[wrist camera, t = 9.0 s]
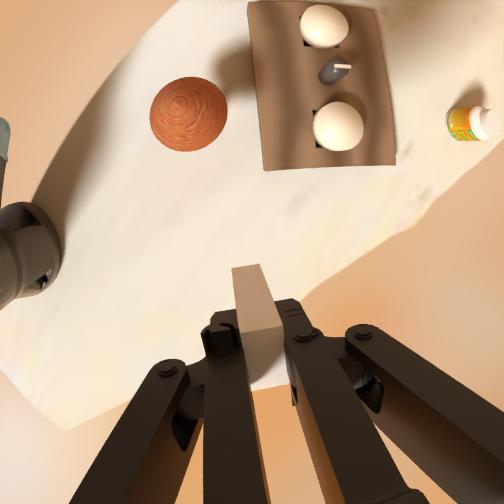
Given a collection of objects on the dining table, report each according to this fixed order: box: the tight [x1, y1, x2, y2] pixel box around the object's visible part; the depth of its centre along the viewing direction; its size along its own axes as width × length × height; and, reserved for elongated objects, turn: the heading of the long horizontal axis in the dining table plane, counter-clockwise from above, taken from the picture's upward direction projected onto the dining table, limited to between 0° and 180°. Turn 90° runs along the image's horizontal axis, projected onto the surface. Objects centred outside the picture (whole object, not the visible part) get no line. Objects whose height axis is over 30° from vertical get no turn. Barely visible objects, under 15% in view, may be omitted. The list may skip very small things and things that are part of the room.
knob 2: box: [311, 102, 364, 151], centre depth 36 cm, size 6×6×6 cm
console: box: [247, 1, 396, 171], centre depth 35 cm, size 18×24×3 cm
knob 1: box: [298, 5, 349, 49], centre depth 32 cm, size 6×6×6 cm
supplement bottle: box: [445, 106, 502, 141], centre depth 35 cm, size 5×5×10 cm
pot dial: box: [318, 57, 351, 86], centre depth 31 cm, size 2×2×5 cm
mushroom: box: [150, 77, 228, 152], centre depth 30 cm, size 8×8×15 cm
